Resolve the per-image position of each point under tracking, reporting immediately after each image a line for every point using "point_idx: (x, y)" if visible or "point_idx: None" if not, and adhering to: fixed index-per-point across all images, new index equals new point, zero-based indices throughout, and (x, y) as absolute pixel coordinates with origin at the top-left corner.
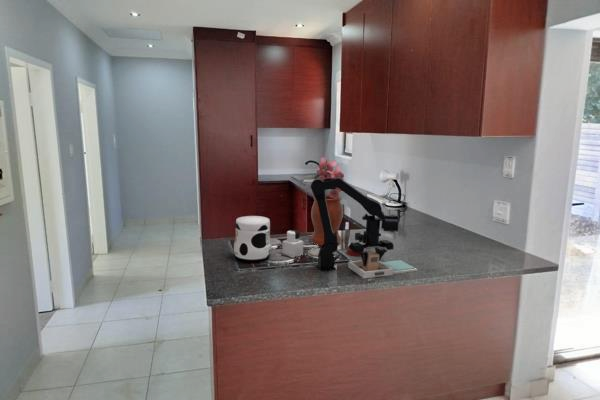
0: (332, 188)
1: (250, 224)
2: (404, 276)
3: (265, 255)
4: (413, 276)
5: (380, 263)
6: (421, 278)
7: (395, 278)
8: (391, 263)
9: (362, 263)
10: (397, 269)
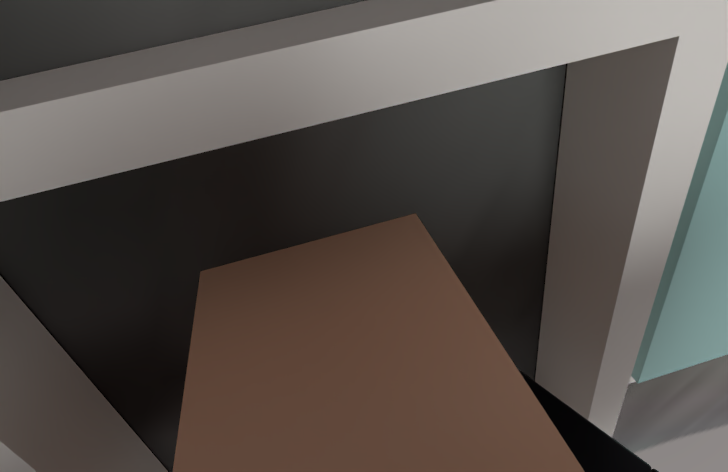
0: None
1: None
2: (633, 411)
3: None
4: (705, 400)
5: (613, 265)
6: (722, 424)
7: None
8: None
9: (187, 372)
10: (687, 363)
